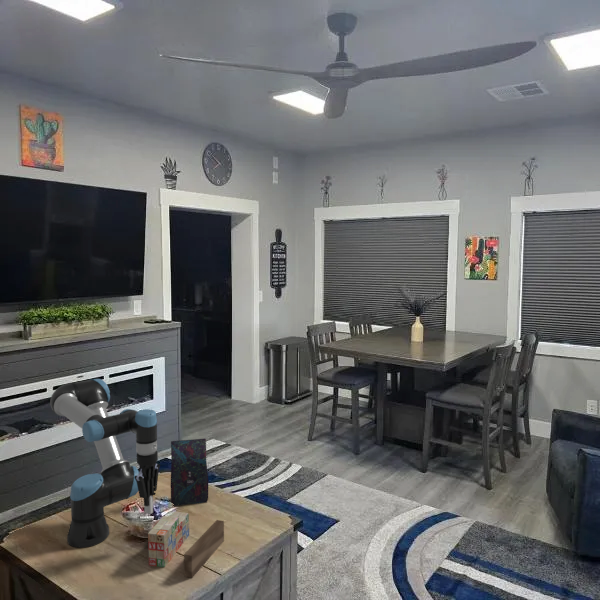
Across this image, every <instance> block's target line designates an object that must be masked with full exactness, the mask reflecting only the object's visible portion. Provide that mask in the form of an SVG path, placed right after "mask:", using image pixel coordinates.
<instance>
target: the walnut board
mask: <svg viewBox="0 0 600 600" xmlns="http://www.w3.org/2000/svg"><path fill="white" fill-rule="evenodd" d="M224 541H225V522H224V520H221V519H216V520H215V521H214V522H213V523H212V524H211V525H210V526H209V527H208V528H207V530H206V531H205V532H204V533H203V534H202V535H201V536H200V537H199V538H198V539H197V540H196V541H195V542H194V543H193V544H192V545H191V546H190V547H189V548H188V549H187V551H186V552H184V553H183V565H184V566H183V568H184V571H183V572H184V577H186V578H189V579H190V578H191V579H193V578H194V577H195V575H196V574H197V573H198V572H199V571H200V570H201V568H202V567H204V565H205V564H206V562H208V560H209V559H210V558H211V557H212V556H213V555H214V553H215V552H216V551H217V550H218V549H219V547H221V545H222V544H223V543H224Z"/></svg>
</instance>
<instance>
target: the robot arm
mask: <svg viewBox="0 0 600 600" xmlns="http://www.w3.org/2000/svg"><path fill="white" fill-rule="evenodd" d="M110 393H111V391H110V389H109V386H108V384H107V383H106V382H105V381H104V380H103V379H101V378H90V379H87V380H82V381H77V382H70V383H69V382H68V383H65V384H62V385H60V386H59V387H58V388H56V389H55V390H54V391H53V393H52V394H51V397H50V402H49V403H50V407H51V410H52V411H53V412H54V413H55V414H56V415H57V416H60V417H65V418H67V419H68V420H69V421H71V422H72V423H74V424H75V425H76V426H78V427H79V428H81V433H82V436H83V438H84V440H85V441H86V442H88V443H92V442H93V444H94V446H95V448H96V452H97V455H98V457H99V460H100V463H101V467H102V469H101V471H100V473H88V474H85V475H82V476H80V477H78V478H77V479H76V480H75V481H73V483H72V484H71V486H70V494H69V495H70V496H69V498H70V509H71V511H70V512H71V522H70V525H69V528H68V532H67V535H66V537H67V538H66V539H67V544H68V546H71V547H73V548H89V547H93V546H96V545H98V544H100V543H103V542H104V541H105V540H107V538H108V537H109V535H110V527H109V524H108V523H107V519H106V517H105V512H104V511H105V509H104V508H105V507H107V506H110V505H113V504H115V503H118V502H121V501H123V500H128V499H129V498H132V497H134V496H136V495H137V494H138V496H139V498H141V499H143V506H144V514H148V515H151V514H154V496H155V495H157V494H156V491H157V489H158V481H159V480H158V477H159V471H160V468H161V464H160V463H157V462H158V459H159V458H158V457H159V456H158V419H157V413H156V411H155V410H154V409H141V410H138V411H137V410H135V409H130V408H126V409H123V410H121V411H120V413H118V414H114V415H109V413H108V410H107V408H108V406H109V402H110V400H111V395H110ZM127 433H133V434H135V441H136V443H135V444H136V445H135V447H136V448H135V450H136V463H137V464H138V465H139V466H138V467H139V469H138V468H137V467H136V466H135V465H130V462H129V461H128V460H127V459H124V456H123V454H122V450H121V448H120V445H119V442H118V440H117V436H119V435H124V434H127Z"/></svg>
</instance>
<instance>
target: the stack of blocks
mask: <svg viewBox="0 0 600 600" xmlns="http://www.w3.org/2000/svg"><path fill="white" fill-rule="evenodd" d="M189 515H190V514H189V513H188V512H180V511H174V512H172V514H171V515H170V516H169V515H167V516H166V515H163V516H162V517H161V518H160V520H159V521H157V523H156V524H155V525H154V526H153V527H152V528H151V529H150V530H149V532H148V533H147V539H148V541H147V542H148V543H147V544H148V545H147V549H148V566H151V567H152V566H153V567H161V568H165V567H166V566H167V565H169V562H171V560H172V559H173V558H174V557H175V555H176V554H177V552H178V551H179V549H180V548H181V546H183V544H184V543H185V542H186V540H187V539H188V537H189V536H190V520H189V517H190V516H189Z"/></svg>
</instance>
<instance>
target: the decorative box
mask: <svg viewBox="0 0 600 600" xmlns="http://www.w3.org/2000/svg"><path fill="white" fill-rule="evenodd" d="M170 449H171V450H170V452H171V453H170V455H171V457H170V458H171V459H170V461H171V463H170V464H171V465H170V466H171V468H170V503H171V502H172V503H173V504H174V505H175V506H174V507H177V506H187V505H194V504H204V503H208V500H209V475H208V474H209V473H208V465H207V463H208V462H207V438H195V439H183V440H172V441H170Z"/></svg>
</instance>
